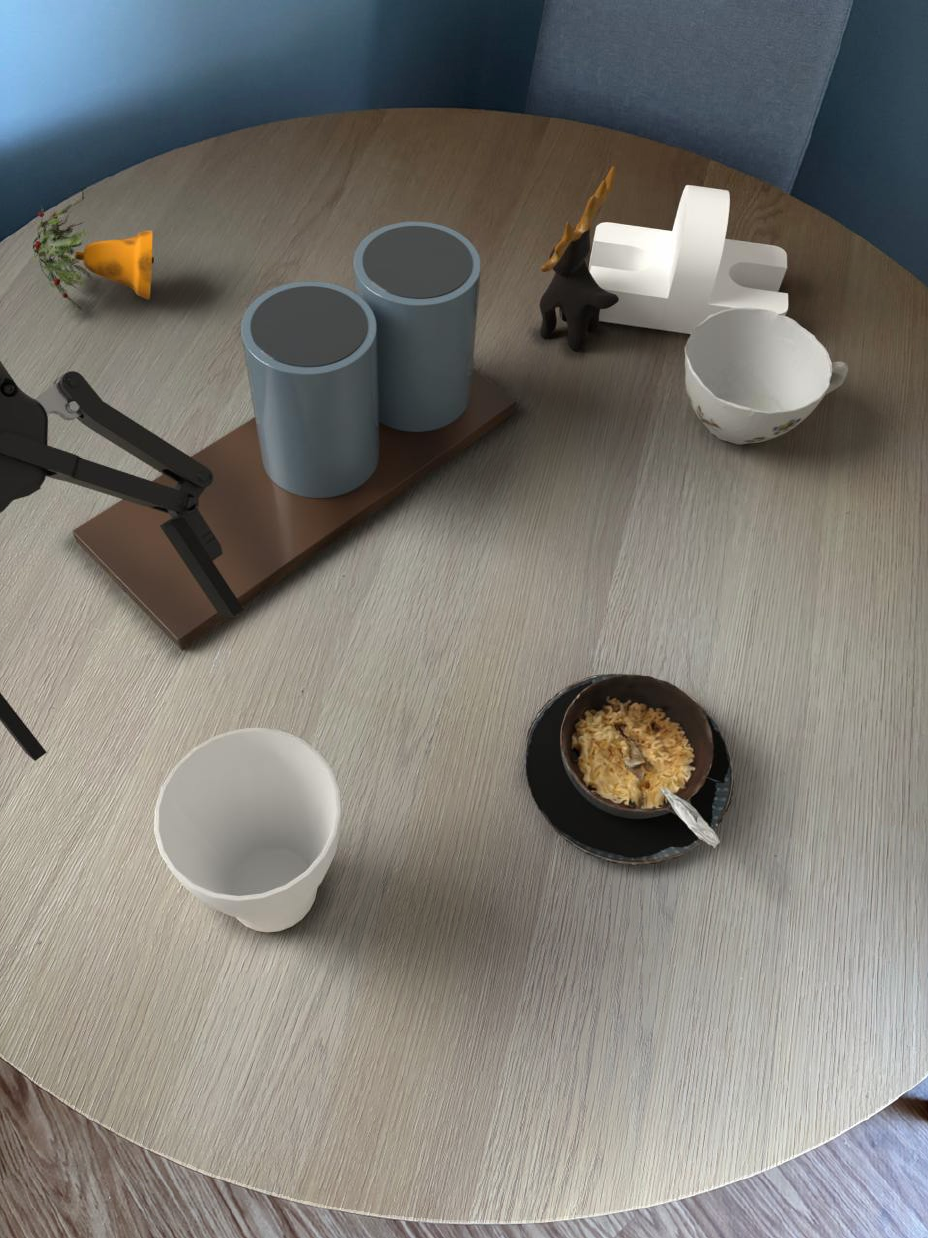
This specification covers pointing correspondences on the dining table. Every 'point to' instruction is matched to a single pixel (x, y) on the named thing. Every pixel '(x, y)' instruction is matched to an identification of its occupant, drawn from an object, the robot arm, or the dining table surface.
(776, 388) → the teacup
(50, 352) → the dining table surface
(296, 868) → the cup
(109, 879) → the dining table surface
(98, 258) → the christmas decoration
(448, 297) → the slate cup
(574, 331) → the figurine
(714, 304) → the bracket
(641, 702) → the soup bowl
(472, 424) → the walnut board
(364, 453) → the slate cup
